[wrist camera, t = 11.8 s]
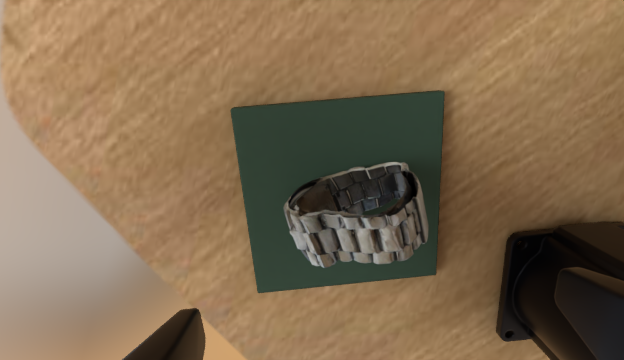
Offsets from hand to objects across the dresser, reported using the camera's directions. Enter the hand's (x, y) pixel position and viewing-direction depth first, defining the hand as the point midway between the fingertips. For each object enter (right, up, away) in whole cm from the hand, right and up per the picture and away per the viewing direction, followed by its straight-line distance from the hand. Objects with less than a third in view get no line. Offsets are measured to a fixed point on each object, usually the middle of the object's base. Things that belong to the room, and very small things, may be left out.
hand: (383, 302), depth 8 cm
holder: (0, +2, +7) cm, 8 cm away
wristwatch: (0, +2, +7) cm, 7 cm away
